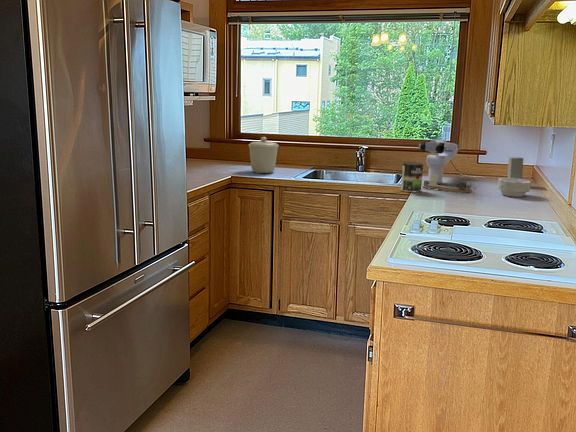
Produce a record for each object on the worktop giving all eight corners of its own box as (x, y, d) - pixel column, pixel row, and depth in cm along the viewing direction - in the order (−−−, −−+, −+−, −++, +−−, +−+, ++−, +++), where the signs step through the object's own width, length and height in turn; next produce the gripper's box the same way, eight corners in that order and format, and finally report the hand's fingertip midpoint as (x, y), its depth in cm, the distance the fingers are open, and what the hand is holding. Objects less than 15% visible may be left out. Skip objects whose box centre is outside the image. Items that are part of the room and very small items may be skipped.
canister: (265, 169, 340) (266, 135, 335) (284, 173, 327) (285, 137, 322) (241, 171, 329) (242, 136, 324) (260, 175, 315) (260, 138, 311)
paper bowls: (532, 195, 279) (534, 179, 277) (525, 199, 266) (527, 183, 264) (500, 191, 287) (502, 176, 285) (493, 195, 275) (495, 179, 273)
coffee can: (425, 192, 279) (427, 164, 276) (408, 192, 275) (410, 164, 272) (413, 188, 289) (415, 161, 285) (396, 189, 285) (398, 162, 282)
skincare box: (521, 187, 301) (525, 158, 297) (508, 186, 302) (511, 157, 299) (518, 184, 309) (522, 156, 305) (505, 183, 310) (508, 155, 307)
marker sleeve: (430, 185, 293) (431, 174, 291) (437, 185, 291) (438, 174, 290) (428, 186, 290) (429, 175, 288) (436, 186, 288) (437, 175, 286)
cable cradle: (425, 185, 297) (426, 177, 296) (471, 190, 286) (472, 181, 285) (421, 188, 288) (421, 179, 287) (468, 193, 278) (469, 184, 277)
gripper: (422, 138, 298) (415, 139, 287) (449, 140, 292) (443, 141, 280) (421, 151, 300) (414, 152, 288) (448, 153, 293) (442, 155, 282)
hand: (428, 148), depth 284 cm, fingers open, 7 cm apart
